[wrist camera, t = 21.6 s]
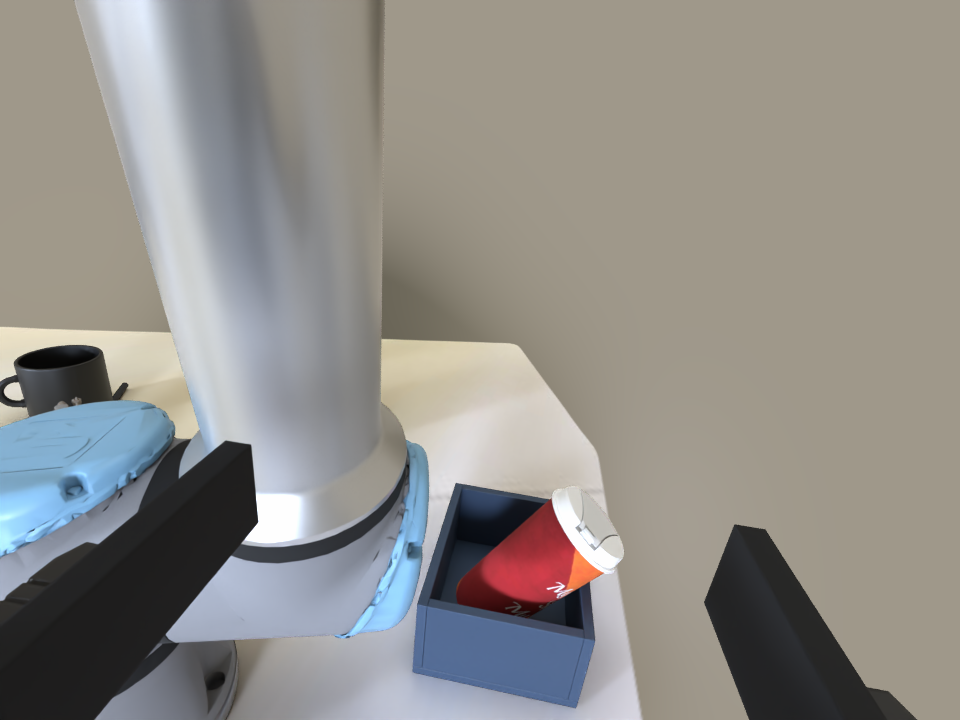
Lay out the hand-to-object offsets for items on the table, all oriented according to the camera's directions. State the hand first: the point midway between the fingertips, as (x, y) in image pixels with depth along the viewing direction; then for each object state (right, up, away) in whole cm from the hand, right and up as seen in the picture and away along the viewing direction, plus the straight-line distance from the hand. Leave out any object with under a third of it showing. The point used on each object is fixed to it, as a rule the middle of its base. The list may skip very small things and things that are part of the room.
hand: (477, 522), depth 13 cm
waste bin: (+2, -20, +32) cm, 38 cm away
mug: (-61, -4, +55) cm, 82 cm away
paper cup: (0, -18, +29) cm, 35 cm away
